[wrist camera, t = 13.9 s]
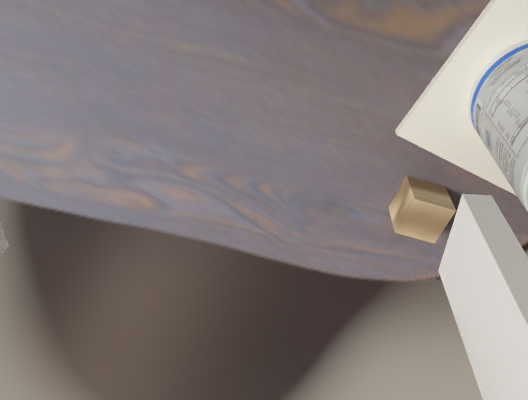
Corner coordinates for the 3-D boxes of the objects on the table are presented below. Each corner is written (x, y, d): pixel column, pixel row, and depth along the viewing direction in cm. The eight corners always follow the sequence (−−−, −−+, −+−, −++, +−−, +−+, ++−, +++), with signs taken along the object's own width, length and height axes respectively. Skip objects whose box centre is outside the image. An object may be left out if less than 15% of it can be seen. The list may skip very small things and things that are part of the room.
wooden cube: (406, 175, 46) (414, 198, 42) (446, 186, 46) (457, 211, 43) (388, 207, 48) (394, 232, 45) (426, 218, 48) (436, 243, 45)
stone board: (526, -49, 34) (530, -47, 34) (667, 42, 37) (674, 45, 37) (394, 130, 43) (396, 134, 42) (518, 193, 46) (521, 197, 45)
